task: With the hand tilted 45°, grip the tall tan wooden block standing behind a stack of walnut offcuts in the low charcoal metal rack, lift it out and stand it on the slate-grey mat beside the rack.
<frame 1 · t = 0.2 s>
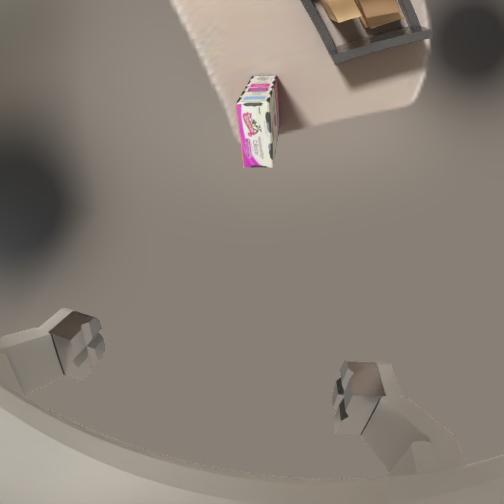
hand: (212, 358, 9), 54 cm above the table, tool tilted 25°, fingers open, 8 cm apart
tan wooden block: (332, 3, 38), resting in rack
candy bar box: (265, 101, 54), on the table
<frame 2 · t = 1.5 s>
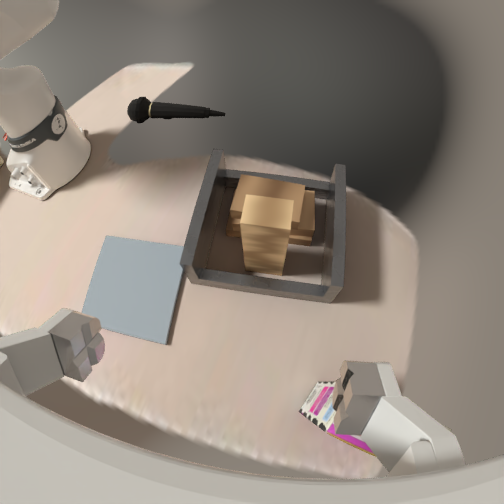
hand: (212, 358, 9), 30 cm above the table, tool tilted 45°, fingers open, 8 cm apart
microphone: (174, 120, 56), on the table
tan wooden block: (265, 261, 43), resting in rack
slate mat: (132, 286, 42), on the table
rack: (269, 234, 45), on the table
offcut stack: (271, 220, 46), resting in rack
candy bar box: (342, 416, 34), on the table
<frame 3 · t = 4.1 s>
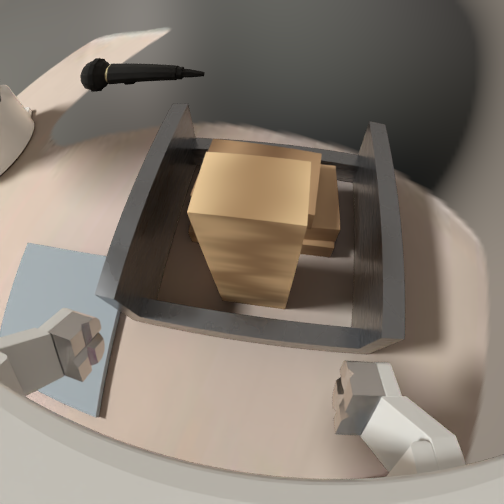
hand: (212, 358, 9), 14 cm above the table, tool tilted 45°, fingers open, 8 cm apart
microphone: (138, 85, 39), on the table
tan wooden block: (256, 284, 25), resting in rack
slate mat: (54, 320, 24), on the table
rack: (263, 237, 27), on the table
offcut stack: (265, 215, 28), resting in rack
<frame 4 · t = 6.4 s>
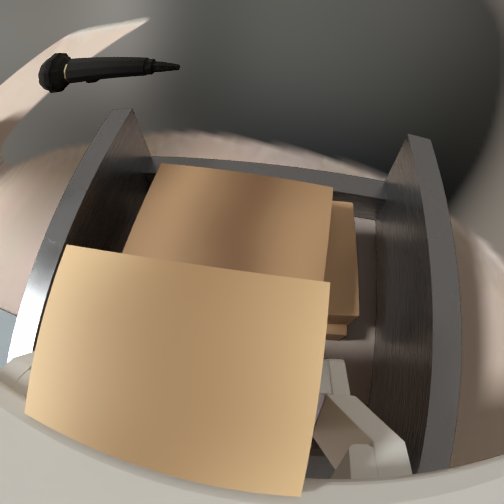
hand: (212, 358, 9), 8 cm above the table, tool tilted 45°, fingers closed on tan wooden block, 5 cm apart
microphone: (102, 83, 30), on the table
tan wooden block: (231, 382, 16), resting in rack, touching gripper
rack: (244, 311, 18), on the table
offcut stack: (245, 275, 19), resting in rack
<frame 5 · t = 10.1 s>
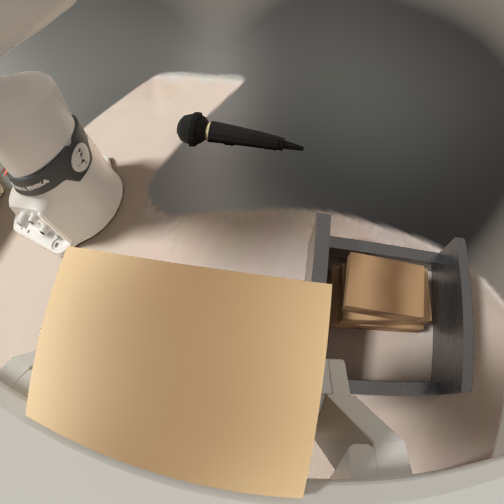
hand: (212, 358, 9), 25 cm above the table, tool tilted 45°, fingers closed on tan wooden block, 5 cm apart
microphone: (237, 147, 47), on the table
tan wooden block: (232, 383, 16), point 17 cm above the table, touching gripper
rack: (378, 320, 34), on the table
offcut stack: (374, 302, 35), resting in rack
when the fingers open (10 cm above the table, at t = 13.9 s): tan wooden block drops 1 cm, resting on slate mat.
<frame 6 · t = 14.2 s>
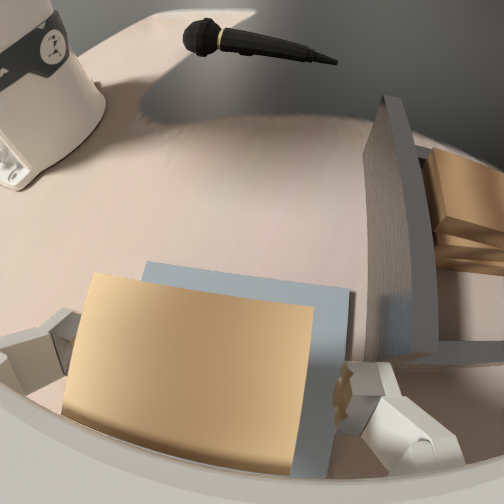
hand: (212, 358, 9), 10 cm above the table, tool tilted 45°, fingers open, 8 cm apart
microphone: (256, 59, 34), on the table
tan wooden block: (233, 383, 17), point 1 cm above the table, touching slate mat
slate mat: (227, 382, 18), on the table
rack: (468, 258, 21), on the table
offcut stack: (456, 235, 22), resting in rack
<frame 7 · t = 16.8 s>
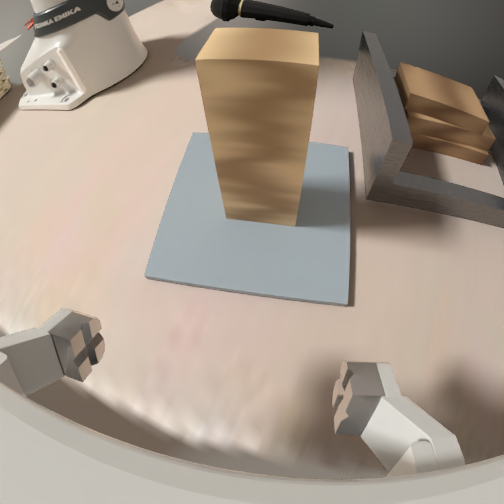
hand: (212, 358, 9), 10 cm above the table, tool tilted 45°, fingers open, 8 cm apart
microphone: (268, 23, 39), on the table
tan wooden block: (263, 202, 23), point 1 cm above the table, touching slate mat
slate mat: (258, 205, 24), on the table
rack: (442, 145, 26), on the table
offcut stack: (430, 131, 28), resting in rack
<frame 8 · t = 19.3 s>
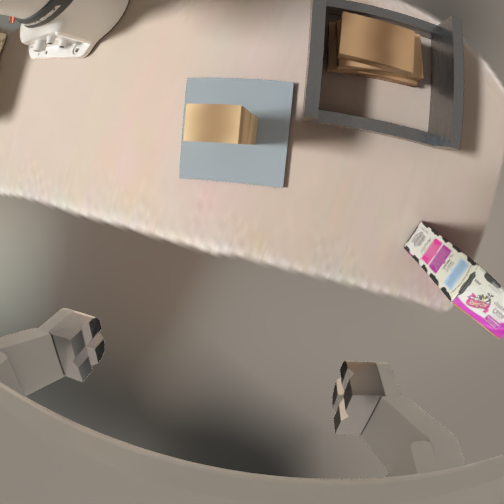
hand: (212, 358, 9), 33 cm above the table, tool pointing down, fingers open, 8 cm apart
tan wooden block: (237, 129, 37), point 1 cm above the table, touching slate mat
slate mat: (234, 129, 38), on the table
rack: (378, 70, 33), on the table
offcut stack: (371, 55, 32), resting in rack
candy bar box: (435, 253, 40), on the table
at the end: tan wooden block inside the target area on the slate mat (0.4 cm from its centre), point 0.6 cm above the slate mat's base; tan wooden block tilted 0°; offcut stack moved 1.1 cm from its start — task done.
